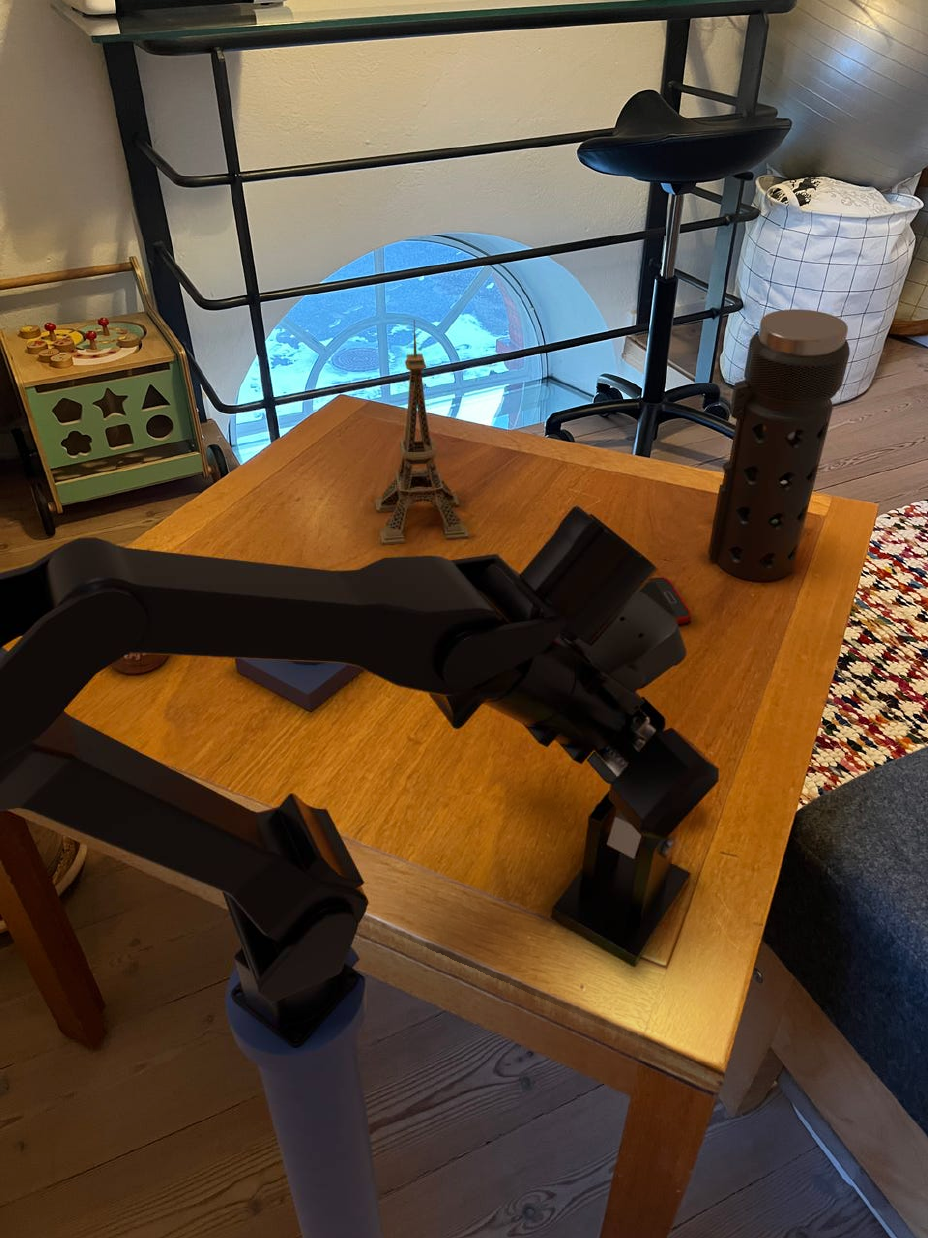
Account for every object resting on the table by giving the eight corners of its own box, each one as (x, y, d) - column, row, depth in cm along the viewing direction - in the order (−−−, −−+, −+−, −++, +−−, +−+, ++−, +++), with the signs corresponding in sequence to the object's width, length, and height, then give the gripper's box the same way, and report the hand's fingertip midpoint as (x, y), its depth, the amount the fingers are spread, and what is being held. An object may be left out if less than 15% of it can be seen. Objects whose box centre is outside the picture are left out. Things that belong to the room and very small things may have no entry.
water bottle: (714, 584, 103) (806, 582, 103) (758, 343, 85) (869, 341, 85) (698, 536, 110) (784, 535, 110) (735, 307, 93) (838, 304, 93)
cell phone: (693, 623, 97) (694, 616, 96) (559, 640, 94) (559, 632, 94) (666, 583, 103) (667, 575, 102) (539, 597, 100) (540, 590, 100)
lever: (670, 777, 76) (681, 740, 75) (710, 796, 74) (723, 759, 73) (595, 847, 65) (607, 804, 63) (641, 871, 63) (654, 828, 62)
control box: (310, 712, 86) (306, 679, 83) (236, 672, 90) (230, 640, 88) (391, 647, 94) (390, 616, 91) (320, 613, 98) (316, 583, 96)
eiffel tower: (381, 544, 109) (368, 339, 94) (375, 501, 118) (362, 306, 103) (468, 538, 111) (469, 334, 96) (456, 495, 119) (455, 302, 104)
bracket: (608, 840, 74) (621, 753, 68) (688, 882, 70) (709, 795, 65) (550, 918, 68) (558, 830, 62) (634, 968, 65) (652, 881, 59)
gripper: (722, 669, 50) (821, 747, 61) (541, 516, 63) (649, 603, 74) (590, 817, 52) (709, 868, 63) (441, 638, 65) (560, 705, 76)
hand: (654, 749), depth 69 cm, fingers closed
